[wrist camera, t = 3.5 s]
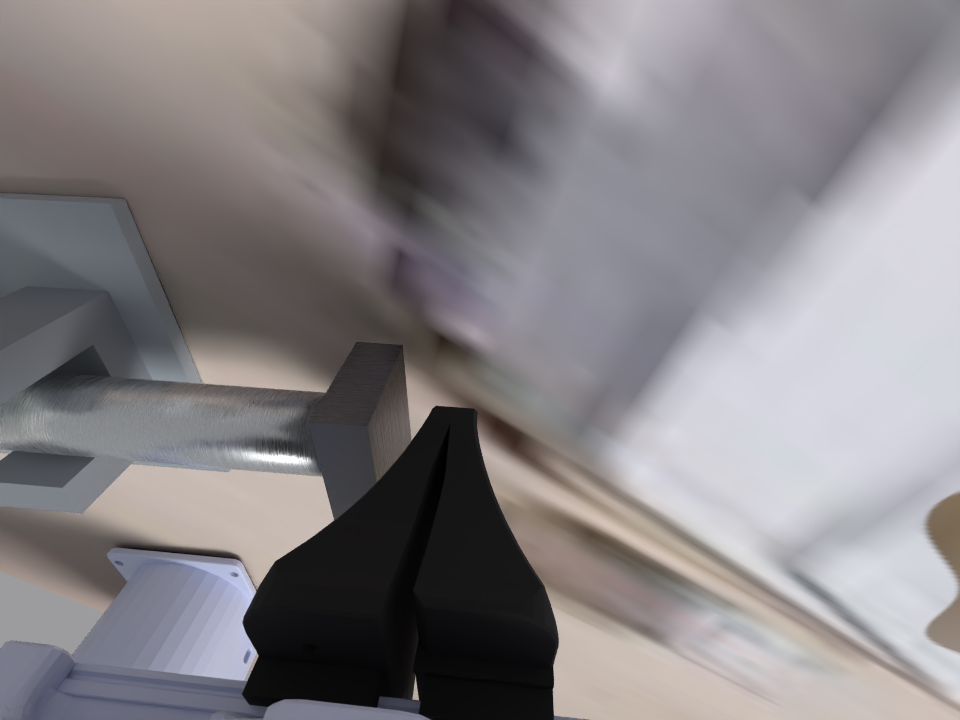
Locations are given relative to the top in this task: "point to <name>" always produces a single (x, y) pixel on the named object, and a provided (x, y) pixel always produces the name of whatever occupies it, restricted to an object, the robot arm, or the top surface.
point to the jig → (78, 328)
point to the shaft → (227, 423)
